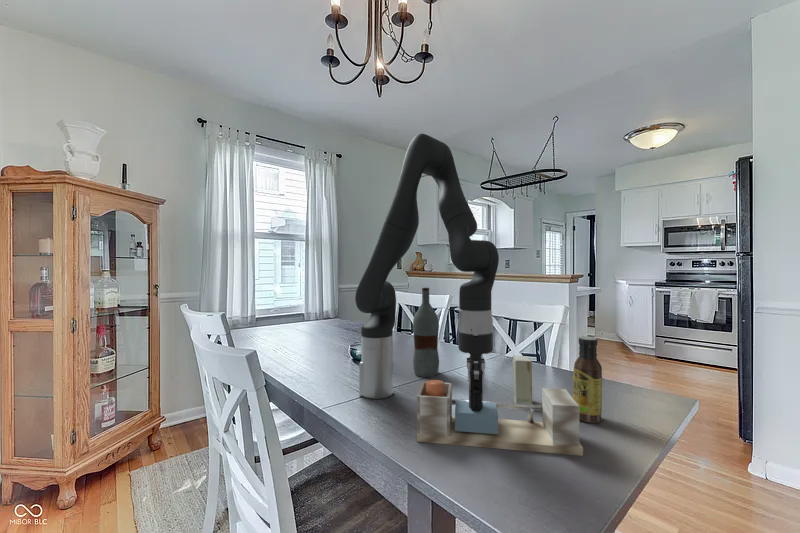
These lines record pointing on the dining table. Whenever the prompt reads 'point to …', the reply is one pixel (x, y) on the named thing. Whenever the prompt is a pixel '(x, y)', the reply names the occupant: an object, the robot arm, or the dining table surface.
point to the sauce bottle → (588, 381)
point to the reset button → (435, 388)
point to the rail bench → (504, 425)
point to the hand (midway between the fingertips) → (475, 406)
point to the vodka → (425, 339)
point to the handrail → (515, 407)
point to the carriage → (476, 416)
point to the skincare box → (522, 379)
